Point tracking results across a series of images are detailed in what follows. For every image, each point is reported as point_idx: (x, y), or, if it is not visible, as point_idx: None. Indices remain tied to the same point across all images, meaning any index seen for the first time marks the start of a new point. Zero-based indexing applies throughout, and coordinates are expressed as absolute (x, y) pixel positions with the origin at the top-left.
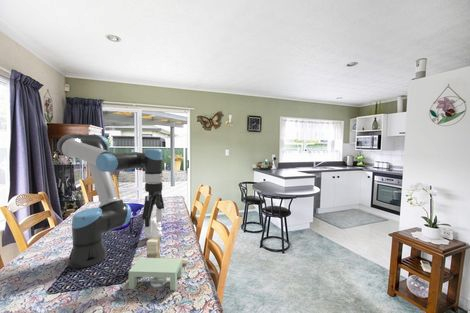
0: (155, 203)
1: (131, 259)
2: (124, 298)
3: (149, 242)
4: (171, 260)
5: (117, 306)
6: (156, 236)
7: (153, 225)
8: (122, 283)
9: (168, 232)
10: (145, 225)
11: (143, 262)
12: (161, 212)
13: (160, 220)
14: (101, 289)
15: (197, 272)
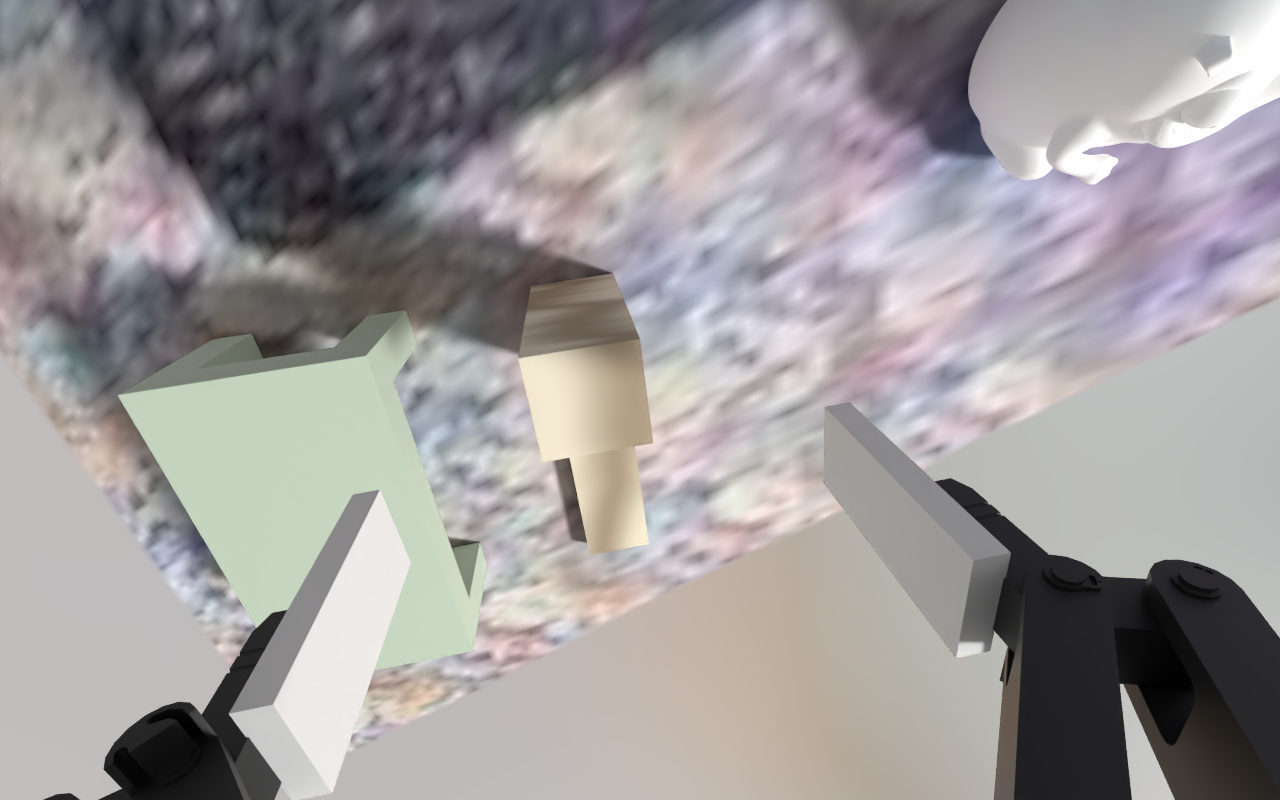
0: (1010, 795)
1: (578, 77)
2: (122, 372)
3: (525, 386)
4: (423, 602)
5: (40, 378)
6: (994, 129)
7: (1128, 72)
8: (240, 248)
9: (1162, 149)
10: (253, 646)
11: (303, 430)
12: (915, 601)
13: (838, 483)
14: (90, 123)
15: (534, 623)
